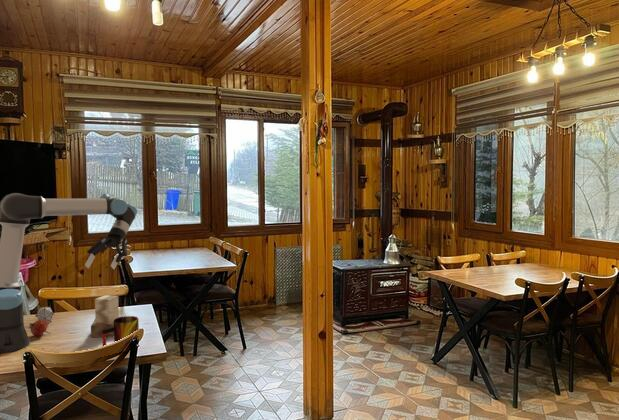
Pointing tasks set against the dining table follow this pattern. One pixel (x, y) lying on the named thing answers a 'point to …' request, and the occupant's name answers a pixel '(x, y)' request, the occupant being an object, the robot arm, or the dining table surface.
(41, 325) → the pomegranate
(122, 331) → the mug
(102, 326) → the walnut block
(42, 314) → the game die
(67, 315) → the dining table surface
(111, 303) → the maple block
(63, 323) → the dining table surface
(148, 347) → the dining table surface
